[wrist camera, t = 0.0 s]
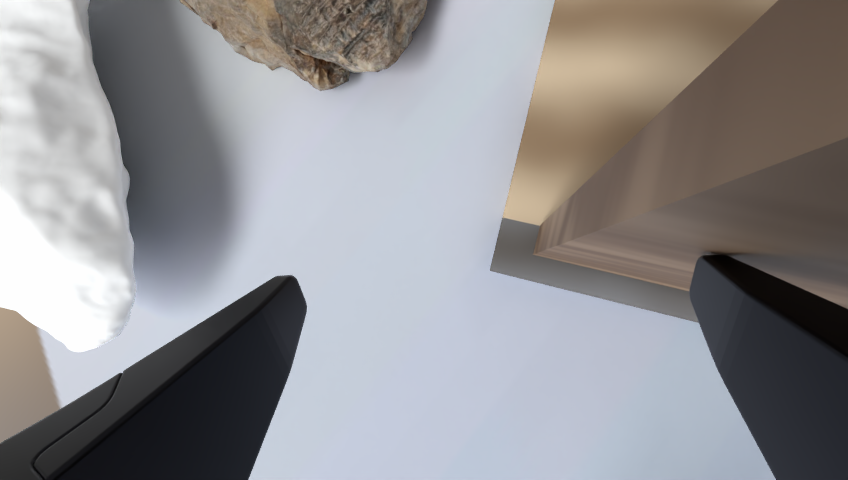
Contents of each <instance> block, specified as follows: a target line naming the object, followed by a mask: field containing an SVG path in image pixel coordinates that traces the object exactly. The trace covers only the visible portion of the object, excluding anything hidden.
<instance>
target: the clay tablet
mask: <svg viewBox="0 0 848 480" xmlns="http://www.w3.org/2000/svg"><path fill="white" fill-rule="evenodd" d="M180 2H181V3H182V4H183V5H185V6H186V7H187V8H189V9H190V10H192V11H193V12H195V13H196V14H197V15H199V16H200V17H201V19H202V21H203V22H204V23H206V24H208V25H209V26H211V27H212V28H213V29H216V30H217V31H219V32H220V33H221V34H222V35H223V37H224V39H225V40H226V41H227V42H228V43H229V44H230V45H231V46H232V48H233V49H234V50H235V52H237V53H239V54H242V55H244V56H245V57H247V58H249V59H250V60H252V61H254V62H258V63H263V64H266V65H267V66H268V67H269V68H270V69H271V70H274V69H275V68H277V67H280V66H282V67H284V68H286V69H288V70H290V71H292V72H294V73H295V74H296V75H298V76H299V77H300V78H301V79H303V80H304V81H308V82H309V83H310V84H311V85H312V86H313V87H314V88H316V89H318V90H320V91H322V90H328V89H333V88H335V87H337V86H339V85H341V84H343V83H345V82H347V81H349V74H350V72H349V71H351V72H353V73H356V72H366V71H372V72H378V71H380V70H382V69H387V68H389V67H390V66H391V65H392V64H394V63H395V62H396V61H397V60H398V58H399V57H400V55H401V54H402V53H403V51H404V50H405V49H406V48H407V46H408V45H409V44H410V42H411V41H412V39H413V38H412V32H413V31H414V30H416V28H417V27H418V25H419V23H420V22H421V20H422V18H423V16H424V13H425V10H426V7H427V0H180Z"/></svg>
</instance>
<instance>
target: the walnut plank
mask: <svg viewBox="0 0 848 480" xmlns="http://www.w3.org/2000/svg"><path fill="white" fill-rule="evenodd" d="M718 254H720V255H728V256H730V257H732V258H734V259H737V260H739V261H741V262H743V263H746V264H748V265H750V266H752V267H755V268H757V269H759V270H761V271H764V272H766V273H768V274H770V275H773V276H775V277H777V278H779V279H782V280H784V281H786V282H788V283H791V284H793V285H795V286H797V287H800V288H802V289H804V290H806V291H809V292H811V293H813V294H815V295H818V296H820V297H822V298H824V299H827V300H829V301H831V302H833V303H836V304H838V305H840V306H842V307H845V308H847V309H848V0H778V1H777V2H776V3H775V4H774V5H773V6H772V7H770V8H769V9H768V10H767V11H766V12H765V13H764V14H763V15H762V16H761V17H760V18H759V19H758V20H757V21H756V22H755V23H754V24H752V25H751V26H750V27H749V28H748V29H747V30H746V31H745V32H744V33H743V34H742V35H741V36H740V37H739V38H738V39H737V40H736V41H734V42H733V43H732V44H731V45H730V46H729V47H728V48H727V49H726V50H725V51H724V52H723V53H722V54H721V55H720V56H719V57H718V58H717V59H715V60H714V61H713V62H712V63H711V64H710V65H709V66H708V67H707V68H706V69H705V70H704V71H703V72H702V73H701V74H700V75H699V76H697V77H696V78H695V79H694V80H693V81H692V82H691V83H690V84H689V85H688V86H687V87H686V88H685V89H684V90H683V91H682V92H681V93H679V94H678V95H677V96H676V97H675V98H674V99H673V100H672V101H671V102H670V103H669V104H668V105H667V106H666V107H665V108H664V109H663V110H662V111H660V112H659V113H658V114H657V115H656V116H655V117H654V118H653V119H652V120H651V121H650V122H649V123H648V124H647V125H646V126H645V127H644V128H642V129H641V130H640V131H639V132H638V133H637V134H636V135H635V136H634V137H633V138H632V139H631V140H630V141H629V142H628V143H627V144H626V145H624V146H623V147H622V148H621V149H620V150H619V151H618V152H617V153H616V154H615V155H614V156H613V157H612V158H611V159H610V160H609V161H608V162H607V163H605V164H604V165H603V166H602V167H601V168H600V169H599V170H598V171H597V172H596V173H595V174H594V175H593V176H592V177H591V178H590V179H589V180H587V181H586V182H585V183H584V184H583V185H582V186H581V187H580V188H579V189H578V190H577V191H576V192H575V193H574V194H573V195H572V196H571V197H569V198H568V199H567V200H566V201H565V202H564V203H563V204H562V205H561V206H560V207H559V208H558V209H557V210H556V211H555V212H554V213H553V214H552V215H550V216H549V217H548V218H547V219H546V220H545V221H544V222H543V223H542V224H541V225H540V228H539V232H538V236H537V240H536V245H535V249H534V253H533V255H537V256H541V257H545V258H550V259H554V260H558V261H562V262H566V263H571V264H575V265H579V266H583V267H588V268H592V269H596V270H600V271H605V272H609V273H613V274H617V275H621V276H626V277H630V278H634V279H638V280H643V281H647V282H651V283H655V284H659V285H664V286H668V287H672V288H676V289H681V290H685V291H689V289H690V285H691V281H692V277H693V273H694V269H695V265H696V262H697V260H698V258H699V257H701V256H703V255H718Z"/></svg>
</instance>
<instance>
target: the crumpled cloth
mask: <svg viewBox="0 0 848 480" xmlns="http://www.w3.org/2000/svg"><path fill="white" fill-rule="evenodd" d="M89 4H90V0H0V307H3V308H7V309H11V310H16V311H17V312H19V313H20V314H21V315H22V316H23V317H24V318H26V319H27V320H28V321H30V322H31V323H32V324H34V325H36V326H38V327H39V328H42V329H44V330H46V331H47V332H49V333H50V334H51V335H52V336H53V337H54V338H56V339H57V340H59V341H61V342H63V343H64V344H65V345H66V347H67V348H68V349H69V350H71V351H74V352H84V351H87V350H90V349H94V348H98V347H100V346H102V345H103V344H106V343H108V342H109V341H111V340H113V339H114V338H116V337H117V336H118V335H120V333H121V332H122V330H123V329H124V327H125V326H126V324H127V322H128V321H129V318H130V313H131V309H132V306H133V304H134V301H135V296H136V282H135V277H134V271H133V257H134V241H133V238H132V235H131V233H130V230H129V216H128V210H127V204H126V199H127V195H128V191H129V185H130V177H129V173H128V171H127V169H126V168H125V166H124V165H123V161H122V156H121V147H120V139H119V135H118V132H117V127H116V123H115V119H114V116H113V113H112V110H111V107H110V104H109V101H108V99H107V97H106V95H105V93H104V91H103V89H102V87H101V85H100V82H99V79H98V75H97V72H96V69H95V66H94V64H93V60H92V58H93V52H92V45H91V39H90V33H89V17H88V12H87V10H88V7H89Z"/></svg>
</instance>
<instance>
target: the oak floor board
mask: <svg viewBox="0 0 848 480" xmlns="http://www.w3.org/2000/svg"><path fill="white" fill-rule="evenodd" d="M777 1H778V0H555V3H554V7H553V11H552V15H551V19H550V23H549V27H548V32H547V36H546V40H545V44H544V48H543V52H542V56H541V61H540V65H539V69H538V73H537V77H536V81H535V85H534V90H533V94H532V98H531V102H530V106H529V110H528V114H527V119H526V123H525V127H524V131H523V135H522V139H521V143H520V148H519V152H518V156H517V160H516V164H515V168H514V172H513V177H512V181H511V185H510V189H509V193H508V197H507V201H506V205H505V210H504V214H503V218H502V222H501V226H500V230H499V234H498V239H497V243H496V247H495V251H494V255H493V259H492V263H491V268H490V271H493V272H497V273H501V274H505V275H509V276H513V277H517V278H521V279H525V280H529V281H533V282H537V283H541V284H545V285H549V286H553V287H557V288H561V289H565V290H569V291H573V292H577V293H581V294H586V295H590V296H594V297H598V298H602V299H606V300H610V301H614V302H618V303H622V304H626V305H630V306H634V307H638V308H642V309H646V310H650V311H654V312H658V313H662V314H666V315H670V316H674V317H678V318H682V319H686V320H690V321H694V322H698V319H697V316H696V314H695V311H694V309H693V306H692V304H691V301H690V297H689V291H685V290H681V289H676V288H672V287H668V286H664V285H659V284H655V283H651V282H647V281H643V280H638V279H634V278H630V277H626V276H621V275H617V274H613V273H609V272H605V271H600V270H596V269H592V268H588V267H583V266H579V265H575V264H571V263H566V262H562V261H558V260H554V259H550V258H545V257H541V256H537V255H533V253H534V249H535V245H536V240H537V236H538V232H539V228H540V225H541V224H542V223H543V222H544V221H545V220H546V219H547V218H548V217H549V216H550V215H552V214H553V213H554V212H555V211H556V210H557V209H558V208H559V207H560V206H561V205H562V204H563V203H564V202H565V201H566V200H567V199H568V198H569V197H571V196H572V195H573V194H574V193H575V192H576V191H577V190H578V189H579V188H580V187H581V186H582V185H583V184H584V183H585V182H586V181H587V180H589V179H590V178H591V177H592V176H593V175H594V174H595V173H596V172H597V171H598V170H599V169H600V168H601V167H602V166H603V165H604V164H605V163H607V162H608V161H609V160H610V159H611V158H612V157H613V156H614V155H615V154H616V153H617V152H618V151H619V150H620V149H621V148H622V147H623V146H624V145H626V144H627V143H628V142H629V141H630V140H631V139H632V138H633V137H634V136H635V135H636V134H637V133H638V132H639V131H640V130H641V129H642V128H644V127H645V126H646V125H647V124H648V123H649V122H650V121H651V120H652V119H653V118H654V117H655V116H656V115H657V114H658V113H659V112H660V111H662V110H663V109H664V108H665V107H666V106H667V105H668V104H669V103H670V102H671V101H672V100H673V99H674V98H675V97H676V96H677V95H678V94H679V93H681V92H682V91H683V90H684V89H685V88H686V87H687V86H688V85H689V84H690V83H691V82H692V81H693V80H694V79H695V78H696V77H697V76H699V75H700V74H701V73H702V72H703V71H704V70H705V69H706V68H707V67H708V66H709V65H710V64H711V63H712V62H713V61H714V60H715V59H717V58H718V57H719V56H720V55H721V54H722V53H723V52H724V51H725V50H726V49H727V48H728V47H729V46H730V45H731V44H732V43H733V42H734V41H736V40H737V39H738V38H739V37H740V36H741V35H742V34H743V33H744V32H745V31H746V30H747V29H748V28H749V27H750V26H751V25H752V24H754V23H755V22H756V21H757V20H758V19H759V18H760V17H761V16H762V15H763V14H764V13H765V12H766V11H767V10H768V9H769V8H770V7H772V6H773V5H774V4H775V3H776V2H777ZM698 323H699V322H698Z"/></svg>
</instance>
